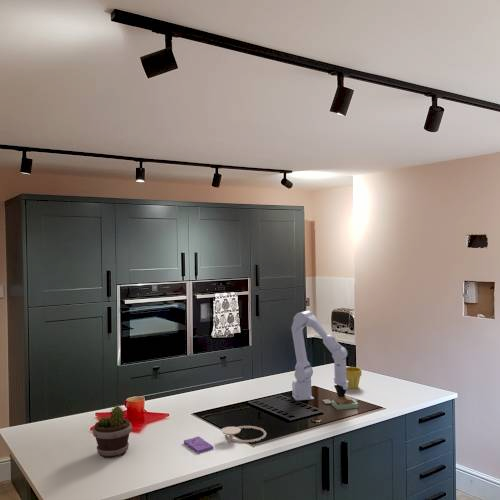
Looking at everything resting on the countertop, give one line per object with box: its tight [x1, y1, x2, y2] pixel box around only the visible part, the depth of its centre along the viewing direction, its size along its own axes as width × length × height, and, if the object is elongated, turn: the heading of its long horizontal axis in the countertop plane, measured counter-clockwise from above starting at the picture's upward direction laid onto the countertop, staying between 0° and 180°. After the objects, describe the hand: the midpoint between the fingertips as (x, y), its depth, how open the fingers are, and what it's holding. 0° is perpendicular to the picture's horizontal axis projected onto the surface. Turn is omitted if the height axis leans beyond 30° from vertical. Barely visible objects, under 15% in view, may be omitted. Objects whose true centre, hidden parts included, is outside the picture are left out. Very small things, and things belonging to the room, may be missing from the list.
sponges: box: [183, 435, 214, 454], centre depth 203 cm, size 7×13×2 cm, turn 33°
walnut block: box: [335, 395, 353, 405], centre depth 247 cm, size 6×6×4 cm
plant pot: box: [346, 366, 362, 390], centre depth 278 cm, size 10×10×10 cm
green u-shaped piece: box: [321, 396, 359, 411], centre depth 250 cm, size 16×14×2 cm
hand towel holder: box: [220, 425, 267, 444], centre depth 212 cm, size 17×4×21 cm
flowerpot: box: [92, 403, 133, 459], centre depth 198 cm, size 14×15×20 cm
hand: (341, 400), depth 251 cm, fingers closed
